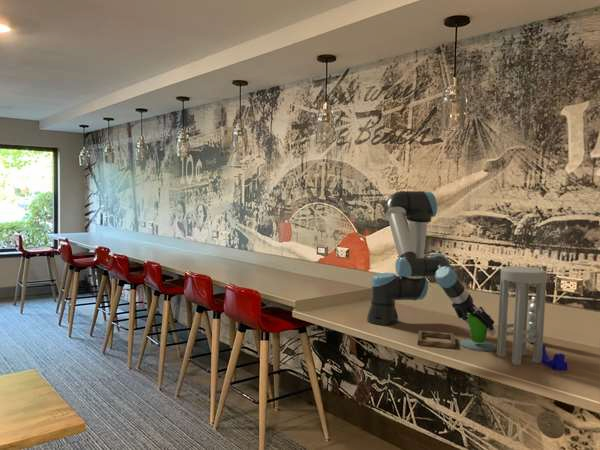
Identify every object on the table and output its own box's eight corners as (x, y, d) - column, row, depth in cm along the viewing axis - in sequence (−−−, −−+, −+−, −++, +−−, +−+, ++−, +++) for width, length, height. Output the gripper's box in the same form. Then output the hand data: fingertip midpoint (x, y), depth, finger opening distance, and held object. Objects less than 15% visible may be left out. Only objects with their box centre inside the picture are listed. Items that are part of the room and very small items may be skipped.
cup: (491, 345, 198) (492, 318, 198) (468, 343, 200) (469, 317, 199) (487, 338, 207) (489, 313, 206) (465, 337, 209) (466, 312, 208)
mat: (453, 341, 208) (453, 340, 208) (481, 339, 213) (481, 338, 213) (474, 352, 195) (474, 351, 195) (503, 349, 199) (503, 348, 199)
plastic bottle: (541, 341, 212) (543, 295, 210) (543, 345, 205) (546, 299, 204) (524, 339, 214) (527, 294, 212) (526, 344, 207) (529, 297, 206)
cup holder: (417, 344, 203) (417, 340, 203) (418, 334, 218) (418, 330, 218) (455, 348, 199) (455, 343, 199) (453, 338, 214) (454, 333, 214)
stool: (488, 353, 194) (493, 266, 192) (522, 350, 198) (526, 265, 196) (514, 367, 179) (519, 273, 177) (550, 364, 183) (555, 272, 181)
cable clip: (567, 370, 178) (568, 354, 177) (556, 371, 177) (557, 355, 176) (545, 359, 189) (546, 344, 189) (534, 359, 189) (535, 344, 188)
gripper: (434, 299, 203) (458, 331, 213) (478, 310, 185) (502, 345, 195) (443, 285, 206) (466, 317, 216) (488, 295, 188) (511, 330, 197)
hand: (483, 330), depth 205 cm, fingers closed on cup, 9 cm apart
